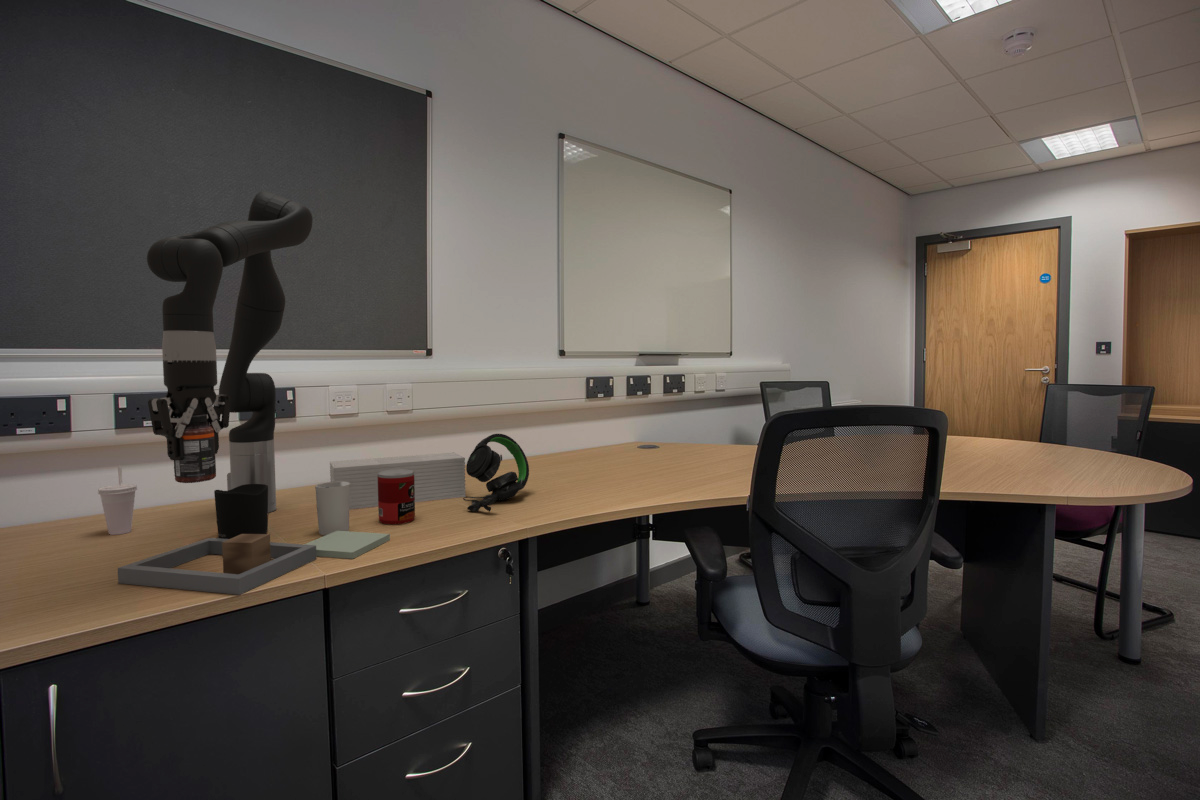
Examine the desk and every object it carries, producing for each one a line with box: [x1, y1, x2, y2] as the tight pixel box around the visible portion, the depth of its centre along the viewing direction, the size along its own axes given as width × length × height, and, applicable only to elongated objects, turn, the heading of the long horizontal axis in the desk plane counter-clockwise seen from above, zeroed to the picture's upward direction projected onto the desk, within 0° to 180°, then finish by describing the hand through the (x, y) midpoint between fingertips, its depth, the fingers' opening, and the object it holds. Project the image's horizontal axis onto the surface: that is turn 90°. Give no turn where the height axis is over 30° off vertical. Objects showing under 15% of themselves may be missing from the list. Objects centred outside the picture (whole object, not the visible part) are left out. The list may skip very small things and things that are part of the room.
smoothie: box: [97, 465, 138, 536], centre depth 125 cm, size 6×6×14 cm
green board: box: [303, 530, 391, 560], centre depth 114 cm, size 12×12×1 cm
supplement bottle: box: [173, 414, 217, 484], centre depth 102 cm, size 6×6×11 cm
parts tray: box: [117, 537, 318, 596], centre depth 101 cm, size 23×17×2 cm
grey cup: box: [314, 481, 350, 536], centre depth 125 cm, size 7×7×10 cm
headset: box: [462, 433, 530, 513], centre depth 151 cm, size 16×12×27 cm
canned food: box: [377, 469, 416, 525], centre depth 134 cm, size 8×8×11 cm
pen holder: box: [213, 484, 269, 539], centre depth 122 cm, size 9×9×10 cm
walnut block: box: [222, 533, 272, 574], centre depth 100 cm, size 5×5×6 cm
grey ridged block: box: [329, 452, 467, 511], centre depth 155 cm, size 32×11×11 cm, turn 119°
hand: (194, 456), depth 102 cm, fingers closed on supplement bottle, 6 cm apart
